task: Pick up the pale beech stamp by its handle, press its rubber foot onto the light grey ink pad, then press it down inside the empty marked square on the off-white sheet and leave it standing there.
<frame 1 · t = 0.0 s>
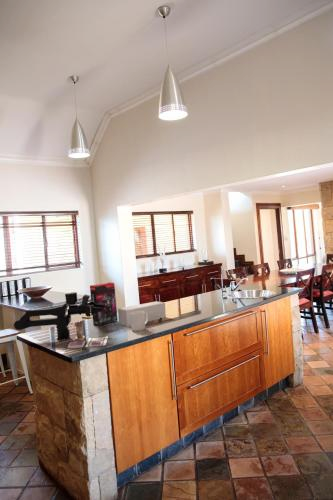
hand: (104, 307, 225), 17 cm above the counter, tool horizontal, fingers open, 9 cm apart
graphics card box: (105, 323, 258), on the counter
mug: (140, 329, 233), on the counter
ink pad: (76, 345, 205), on the counter
light grey long box: (142, 321, 258), on the counter
stamp: (80, 340, 216), on the counter
sheet: (97, 341, 210), on the counter
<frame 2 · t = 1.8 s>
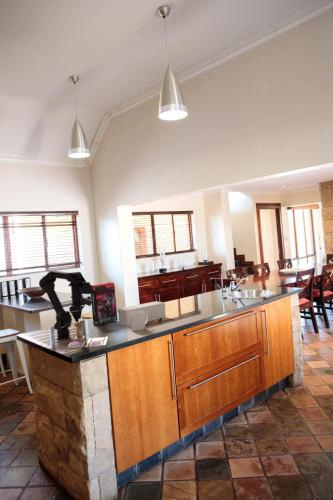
hand: (78, 320, 216), 11 cm above the counter, tool pointing down, fingers open, 9 cm apart
nothing on the counter moved.
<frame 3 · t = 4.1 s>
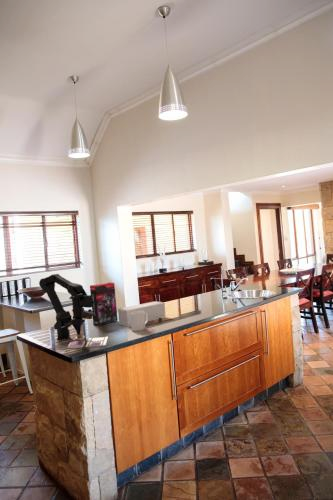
hand: (79, 333, 216), 4 cm above the counter, tool pointing down, fingers closed on stamp, 4 cm apart
stamp: (80, 340, 216), on the counter, touching gripper
everything else where it was.
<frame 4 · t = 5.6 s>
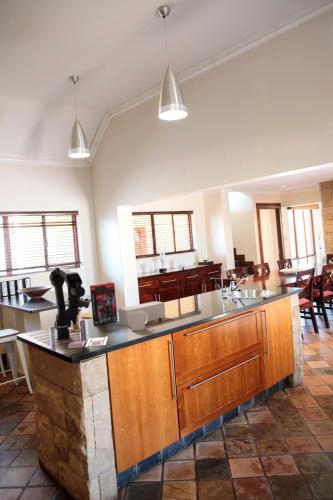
hand: (75, 323, 205), 12 cm above the counter, tool pointing down, fingers closed on stamp, 4 cm apart
stamp: (76, 331, 205), point 8 cm above the counter, touching gripper
everything else where it was.
when the fingers open (5 cm above the counter, at t = 6.7 s): stamp stays where it is, resting on ink pad.
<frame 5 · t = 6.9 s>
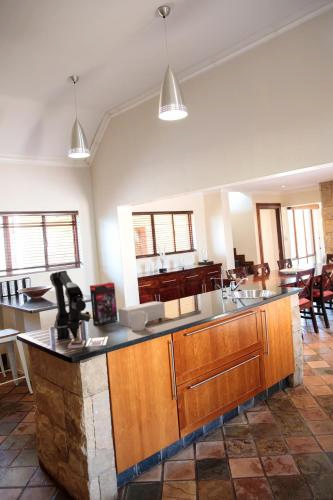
hand: (76, 337, 205), 5 cm above the counter, tool pointing down, fingers open, 4 cm apart
stamp: (76, 342, 205), point 1 cm above the counter, touching gripper, ink pad
everything else where it was.
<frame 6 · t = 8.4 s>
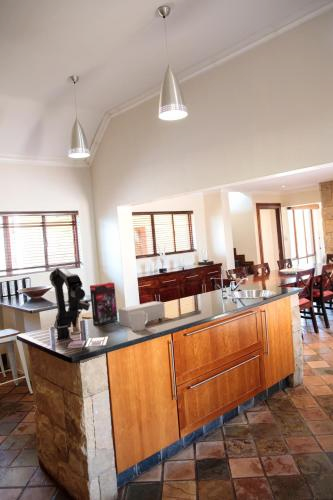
hand: (75, 326, 205), 11 cm above the counter, tool pointing down, fingers closed on stamp, 4 cm apart
stamp: (76, 333, 205), point 7 cm above the counter, touching gripper
everything else where it was.
when the fingers open (3 cm above the counter, at t = 12.0 s): stamp stays where it is, resting on sheet.
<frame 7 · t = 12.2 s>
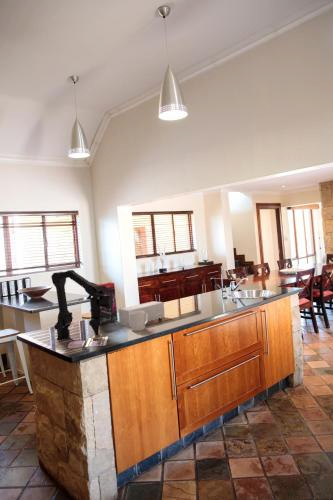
hand: (97, 333, 215), 3 cm above the counter, tool pointing down, fingers open, 6 cm apart
stamp: (97, 339, 215), resting on sheet
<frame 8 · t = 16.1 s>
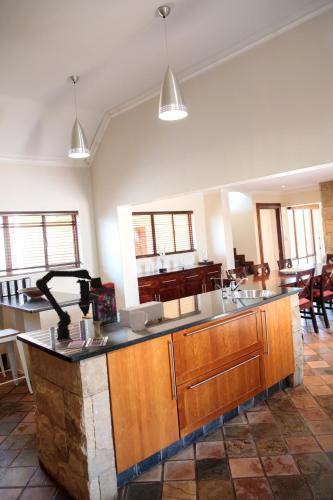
hand: (86, 315, 228), 12 cm above the counter, tool pointing down, fingers open, 9 cm apart
at the end: stamp 0.2 cm from the target spot on the sheet, point 0.2 cm above the sheet's base; stamp tilted 0°; the gripper is holding nothing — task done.
